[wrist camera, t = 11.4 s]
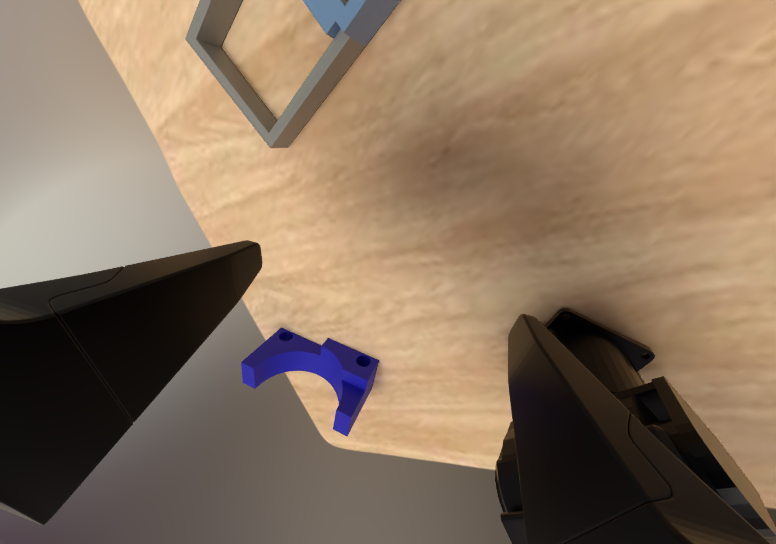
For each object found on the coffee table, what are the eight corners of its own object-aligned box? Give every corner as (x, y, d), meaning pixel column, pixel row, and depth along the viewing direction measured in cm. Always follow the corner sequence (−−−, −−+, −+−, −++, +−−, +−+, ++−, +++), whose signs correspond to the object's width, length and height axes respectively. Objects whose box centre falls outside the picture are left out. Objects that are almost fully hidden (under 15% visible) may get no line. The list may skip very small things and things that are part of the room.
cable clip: (379, 359, 29) (353, 406, 24) (372, 387, 31) (347, 436, 26) (282, 316, 31) (240, 351, 26) (282, 345, 33) (243, 382, 28)
